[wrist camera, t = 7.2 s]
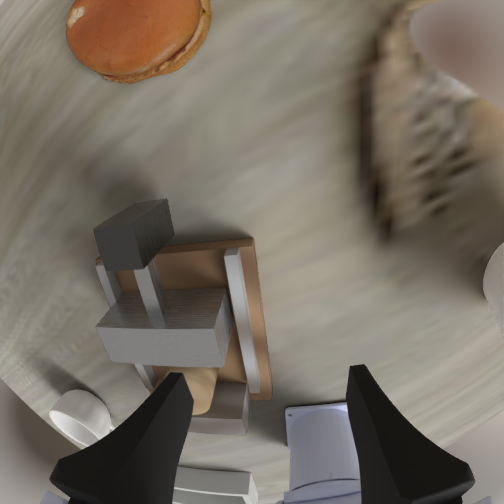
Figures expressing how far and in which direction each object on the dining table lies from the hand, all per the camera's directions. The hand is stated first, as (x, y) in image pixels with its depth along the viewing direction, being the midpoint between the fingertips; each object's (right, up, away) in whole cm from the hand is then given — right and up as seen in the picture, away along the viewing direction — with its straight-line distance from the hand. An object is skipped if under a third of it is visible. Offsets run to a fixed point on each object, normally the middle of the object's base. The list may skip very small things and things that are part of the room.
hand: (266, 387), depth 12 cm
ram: (-6, +5, +8) cm, 11 cm away
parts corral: (-8, -32, +26) cm, 42 cm away
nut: (-5, -4, +12) cm, 13 cm away
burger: (-8, +22, +3) cm, 23 cm away
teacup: (-21, -14, +20) cm, 32 cm away
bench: (-6, -1, +12) cm, 13 cm away
